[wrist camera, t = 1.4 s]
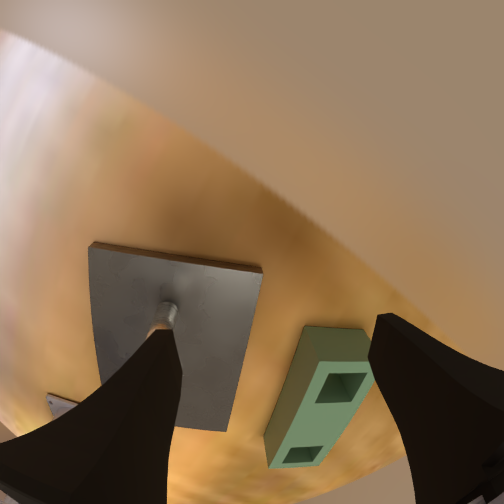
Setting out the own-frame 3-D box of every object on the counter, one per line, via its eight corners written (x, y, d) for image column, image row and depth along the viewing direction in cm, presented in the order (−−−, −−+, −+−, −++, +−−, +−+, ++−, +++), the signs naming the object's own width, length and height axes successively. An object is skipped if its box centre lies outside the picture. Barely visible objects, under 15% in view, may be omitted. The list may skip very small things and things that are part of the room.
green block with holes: (310, 435, 26) (318, 465, 22) (263, 436, 25) (268, 468, 21) (363, 329, 21) (384, 361, 17) (304, 325, 20) (319, 361, 17)
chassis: (225, 423, 24) (227, 473, 18) (110, 405, 22) (95, 450, 17) (261, 267, 19) (275, 314, 13) (94, 241, 17) (52, 277, 12)
